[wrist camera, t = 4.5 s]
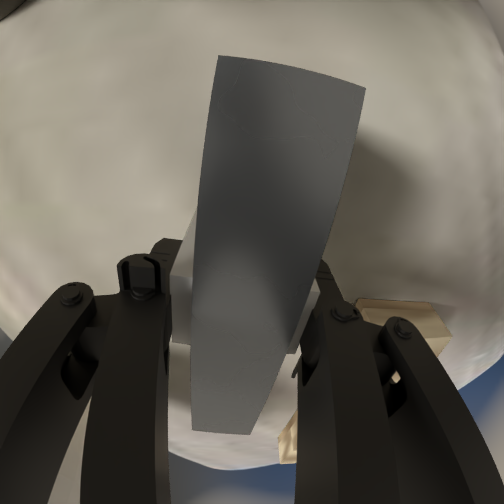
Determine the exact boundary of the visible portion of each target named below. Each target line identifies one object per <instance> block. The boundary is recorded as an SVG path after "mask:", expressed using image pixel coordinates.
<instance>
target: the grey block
mask: <svg viewBox="0 0 504 504" xmlns="http://www.w3.org/2000/svg"><path fill="white" fill-rule="evenodd" d="M365 90H366V88H364V87H362V86H359V85H356V84H353V83H350V82H347V81H344V80H341V79H338V78H334V77H331V76H328V75H324V74H320V73H317V72H313V71H309V70H305V69H301V68H297V67H292V66H287V65H283V64H278V63H272V62H267V61H261V60H254V59H247V58H240V57H231V56H221V55H218V60H217V66H216V71H215V77H214V83H213V88H212V95H211V101H210V107H209V114H208V121H207V128H206V135H205V143H204V150H203V159H202V167H201V176H200V186H199V195H198V206H197V218H196V230H195V244H194V259H193V278H192V301H191V349H190V370H191V415H192V430H195V431H203V432H213V433H224V434H240V435H250V434H251V432H252V430H253V427H254V425H255V423H256V421H257V419H258V417H259V415H260V413H261V411H262V408H263V406H264V404H265V402H266V400H267V397H268V395H269V393H270V391H271V388H272V386H273V384H274V382H275V379H276V377H277V375H278V372H279V370H280V368H281V365H282V363H283V360H284V358H285V356H286V353H287V351H288V348H289V346H290V343H291V341H292V338H293V336H294V333H295V331H296V328H297V325H298V323H299V320H300V317H301V315H302V312H303V309H304V307H305V304H306V301H307V298H308V296H309V293H310V290H311V287H312V284H313V282H314V279H315V276H316V273H317V270H318V267H319V264H320V261H321V258H322V255H323V252H324V249H325V246H326V243H327V239H328V236H329V233H330V230H331V226H332V223H333V220H334V216H335V213H336V210H337V206H338V203H339V199H340V196H341V192H342V188H343V185H344V181H345V177H346V174H347V170H348V166H349V162H350V158H351V154H352V150H353V146H354V142H355V137H356V133H357V129H358V124H359V120H360V115H361V110H362V105H363V100H364V95H365Z"/></svg>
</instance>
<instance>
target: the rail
mask: <svg viewBox="0 0 504 504" xmlns="http://www.w3.org/2000/svg"><path fill="white" fill-rule="evenodd" d="M355 307H356V308H357V309H358V310H359V311H360V313H361V314H362V316H363V320H364V321H367V322H370V323H374V324H377V325H381V326H384V324H385V322H386V321H387V320H388V319H389V318H390V317H393V316H396V317H402V318H405V319H407V320H408V321H410V322H411V323H413V324H414V325H415V327H416V328H417V329H418V330H419V332H420V333H421V335H422V336H423V337H424V339H425V340H426V342H427V343H428V345H429V346H430V348H431V349H432V351H433V352H434V354H435V355H436V357H438V356H439V354H440V353H441V352H442V350H443V349H444V348H445V346H446V345H447V343H448V342H449V341H450V339H451V338H452V335H451V333H450V332H449V330H448V329H447V327H446V326H445V324H444V323H443V322H442V320H441V319H440V317H439V316H438V315H437V313H436V312H435V310H434V309H433V308H432V306H431V305H430V303H427V302H407V301H389V300H374V299H360V298H359V299H358V301H357V303H356V305H355ZM392 379H393V380H394V382H396V383H397V382H398V381H399V380H400V376H399V375H398V373H397V372H396V373H395V374H394V375H393V376H392ZM297 418H298V409H297V411H296V412H295V414H294V415H293V417H292V418H291V420H290V421H289V423H288V424H287V425H286V427H285V428H284V430H283V431H282V433H281V434H280V435H279V437H278V444H279V456H280V464H286V463H296V461H297Z"/></svg>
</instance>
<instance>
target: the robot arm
mask: <svg viewBox="0 0 504 504" xmlns="http://www.w3.org/2000/svg"><path fill="white" fill-rule="evenodd" d="M24 1H25V0H0V20H1V19H3V18H4V17H5V16H7V15H8V14H9V13H11V12H12V11H13V10H15V9H16V8H17V7H18V6H19V5H21V4H22V3H23V2H24ZM196 218H197V209H196V211H195V213H194V216H193V218H192V220H191V223H190V225H189V227H188V230H187V232H186V234H185V237H184V239H183V240H175V239H167V238H163V239H162V240H160V241H159V242H157V243H156V244H155V245H154V247H153V248H152V250H151V253H150V254H134V255H130V256H127V257H125V258H123V259H122V260H120V262H119V263H118V264H117V272H118V279H119V286H120V292H119V293H117V294H112V295H99V296H94V294H93V290H92V289H91V287H90V286H89V285H87V284H85V283H80V282H73V283H68V284H65V285H63V286H61V287H60V288H58V289H57V290H56V291H55V292H54V293H53V294H52V295H51V296H50V298H49V299H48V300H47V301H46V302H45V303H44V304H43V305H42V307H41V308H40V309H39V310H38V311H37V312H36V314H35V315H34V316H33V317H32V318H31V320H30V321H29V322H28V323H27V325H26V326H25V327H24V328H23V330H22V331H21V332H20V333H19V335H18V336H17V337H16V339H15V340H14V341H13V343H12V344H11V345H10V347H9V348H8V349H7V351H6V352H5V353H4V355H3V356H2V358H1V359H0V504H48V501H49V498H50V495H51V492H52V489H53V486H54V483H55V480H56V478H57V475H58V472H59V470H60V467H61V464H62V462H63V459H64V457H65V454H66V452H67V449H68V447H69V445H70V442H71V440H72V438H73V435H74V433H75V431H76V428H77V426H78V424H79V422H80V419H81V417H82V415H83V413H84V411H85V409H86V407H87V404H88V402H89V400H90V398H91V401H90V407H89V412H88V418H87V425H86V431H85V439H84V447H83V456H82V467H81V482H80V504H171V495H170V482H169V462H168V378H169V356H170V352H169V341H170V337H171V334H172V342H175V343H181V344H188V345H191V301H192V278H193V259H194V244H195V230H196ZM299 343H300V347H301V352H302V354H301V356H300V358H299V360H298V362H297V364H296V366H295V369H294V371H293V373H292V377H291V378H295V376H296V374H297V372H298V418H297V461H296V484H295V503H294V504H504V485H503V482H502V479H501V477H500V474H499V472H498V470H497V467H496V465H495V462H494V460H493V458H492V455H491V453H490V451H489V449H488V447H487V445H486V443H485V441H484V438H483V437H482V434H481V432H480V431H479V429H478V427H477V425H476V423H475V421H474V419H473V417H472V415H471V413H470V412H469V410H468V408H467V406H466V404H465V403H464V401H463V399H462V397H461V396H460V394H459V392H458V390H457V389H456V387H455V385H454V384H453V382H452V380H451V379H450V377H449V376H448V374H447V372H446V371H445V369H444V368H443V366H442V364H441V363H440V361H439V360H438V358H437V357H436V355H435V354H434V352H433V351H432V349H431V348H430V346H429V345H428V343H427V342H426V340H425V339H424V337H423V336H422V335H421V333H420V332H419V330H418V329H417V328H416V327H415V325H414V324H413V323H411V322H410V321H408V320H407V319H405V318H402V317H396V316H393V317H390V318H389V319H388V320H387V321H386V322H385V324H384V326H381V325H377V324H374V323H370V322H367V321H364V320H363V316H362V314H361V313H360V311H359V310H358V309H357V308H356V307H355V306H354V305H352V304H350V303H348V302H346V301H344V299H343V297H342V295H341V293H340V291H339V288H338V286H337V284H336V282H335V281H334V277H333V275H332V274H331V271H330V269H329V267H328V265H327V264H326V263H325V262H324V261H323V260H322V259H321V261H320V264H319V267H318V270H317V273H316V276H315V279H314V282H313V284H312V287H311V290H310V293H309V296H308V298H307V301H306V304H305V307H304V309H303V312H302V315H301V317H300V320H299V323H298V325H297V328H296V331H295V333H294V336H293V338H292V341H291V343H290V346H289V348H288V351H287V353H286V354H295V353H296V350H297V348H298V346H299ZM396 372H397V373H398V375H399V376H400V380H399V381H398V382H397V383H396V382H394V380H393V379H392V376H393V375H394V374H395V373H396Z"/></svg>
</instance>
